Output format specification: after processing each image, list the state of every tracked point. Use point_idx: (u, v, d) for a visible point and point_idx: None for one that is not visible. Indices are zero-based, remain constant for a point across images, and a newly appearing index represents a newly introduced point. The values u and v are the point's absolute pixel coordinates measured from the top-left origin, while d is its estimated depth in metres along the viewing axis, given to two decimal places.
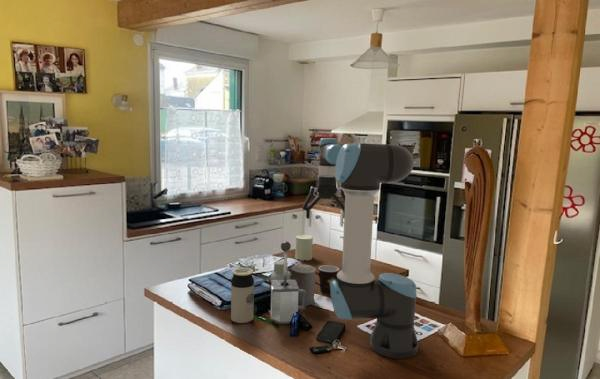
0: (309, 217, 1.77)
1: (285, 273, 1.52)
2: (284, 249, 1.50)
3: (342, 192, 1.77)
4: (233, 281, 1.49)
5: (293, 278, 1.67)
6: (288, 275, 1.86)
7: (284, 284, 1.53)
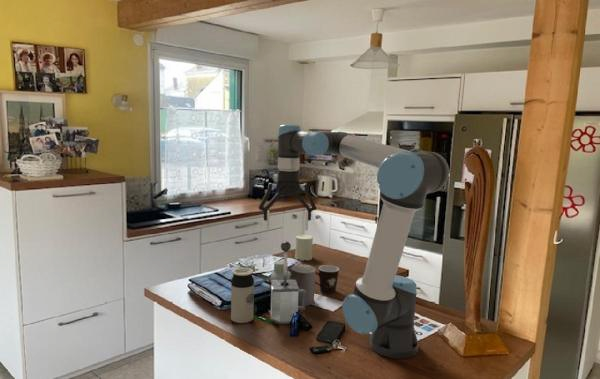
0: (267, 219, 1.49)
1: (285, 273, 1.52)
2: (284, 249, 1.50)
3: (306, 189, 1.49)
4: (233, 281, 1.49)
5: (293, 278, 1.67)
6: (288, 275, 1.86)
7: (284, 284, 1.53)
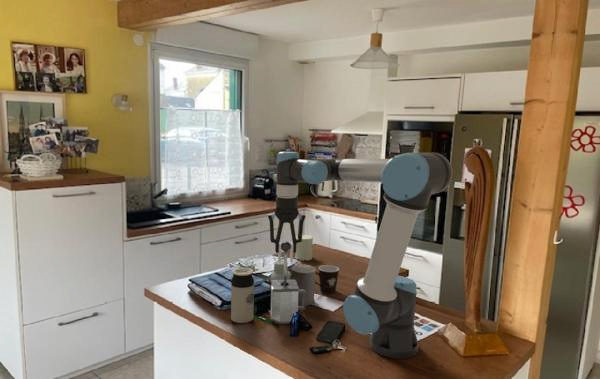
0: (278, 251, 1.50)
1: (285, 273, 1.52)
2: (284, 249, 1.50)
3: (302, 220, 1.50)
4: (233, 281, 1.49)
5: (293, 278, 1.67)
6: (288, 275, 1.86)
7: (284, 284, 1.53)
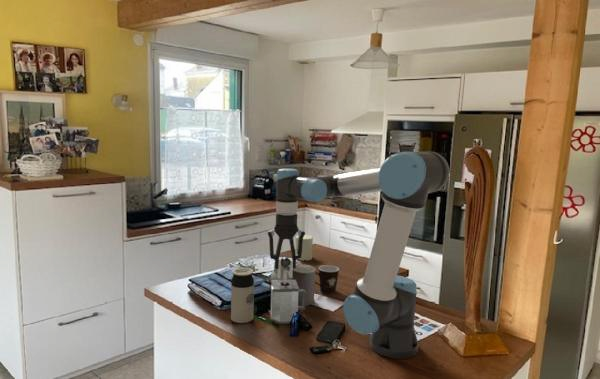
0: (278, 267, 1.51)
1: None
2: (284, 265, 1.51)
3: (301, 236, 1.50)
4: (233, 281, 1.49)
5: (293, 278, 1.67)
6: (288, 275, 1.86)
7: None
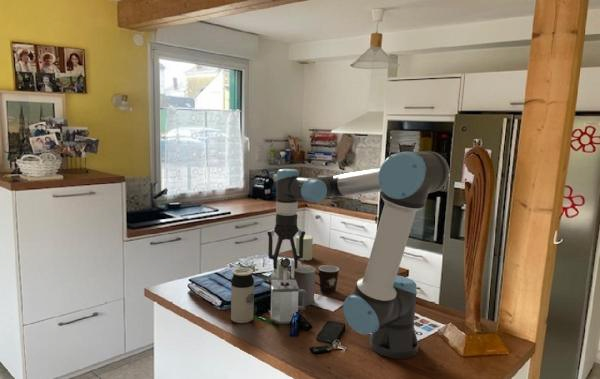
0: (276, 267, 1.51)
1: None
2: (284, 265, 1.51)
3: (302, 236, 1.50)
4: (233, 281, 1.49)
5: (293, 278, 1.67)
6: (288, 275, 1.86)
7: None
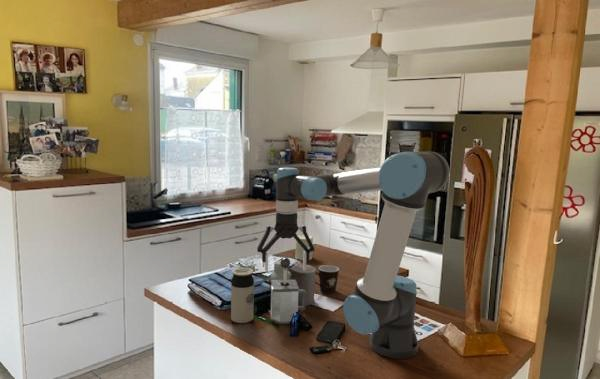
0: (265, 261, 1.50)
1: None
2: (284, 265, 1.51)
3: (304, 231, 1.50)
4: (233, 281, 1.49)
5: (293, 278, 1.67)
6: (288, 275, 1.86)
7: None
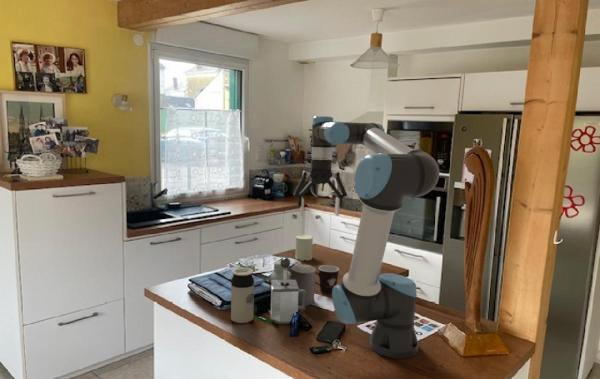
0: (301, 205, 1.58)
1: None
2: (284, 265, 1.51)
3: (338, 177, 1.59)
4: (233, 281, 1.49)
5: (293, 278, 1.67)
6: (288, 275, 1.86)
7: None
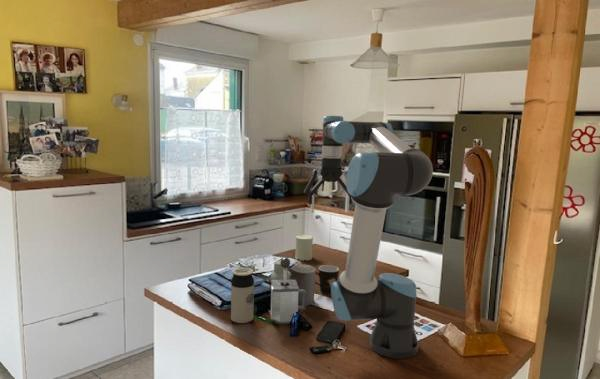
0: (312, 202, 1.62)
1: None
2: (284, 265, 1.51)
3: None
4: (233, 281, 1.49)
5: (293, 278, 1.67)
6: (288, 275, 1.86)
7: None
